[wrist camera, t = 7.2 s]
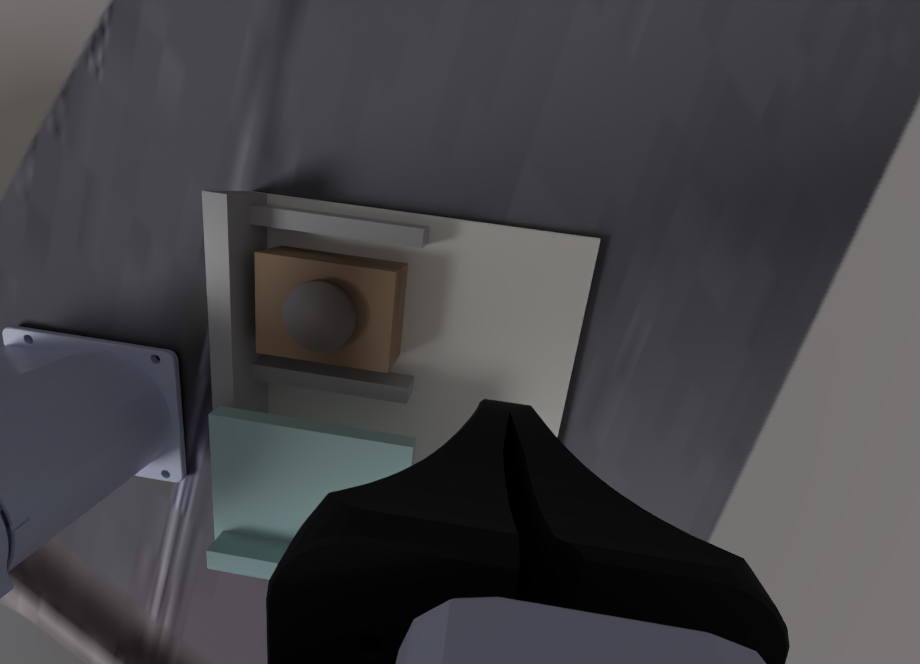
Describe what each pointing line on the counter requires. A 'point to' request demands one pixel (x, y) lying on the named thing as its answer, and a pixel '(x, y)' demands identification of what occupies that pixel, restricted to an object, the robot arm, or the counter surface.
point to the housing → (424, 321)
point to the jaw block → (329, 307)
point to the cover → (284, 479)
